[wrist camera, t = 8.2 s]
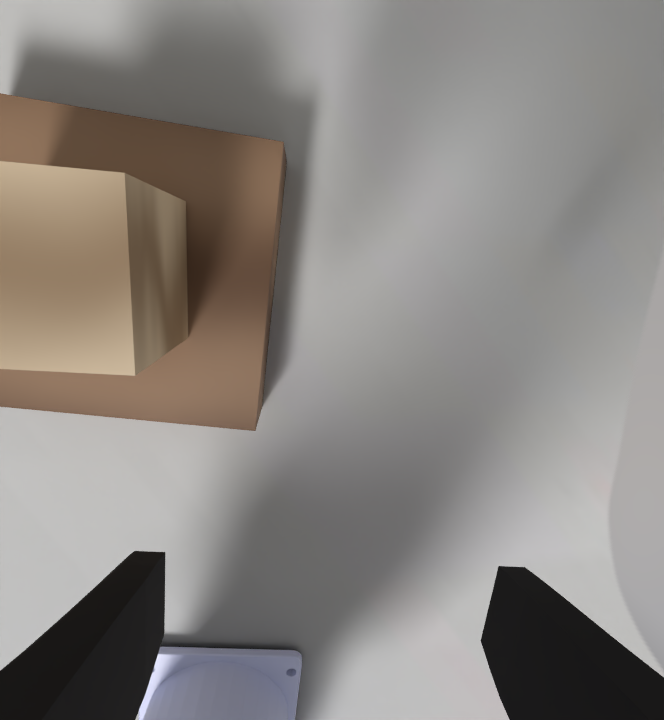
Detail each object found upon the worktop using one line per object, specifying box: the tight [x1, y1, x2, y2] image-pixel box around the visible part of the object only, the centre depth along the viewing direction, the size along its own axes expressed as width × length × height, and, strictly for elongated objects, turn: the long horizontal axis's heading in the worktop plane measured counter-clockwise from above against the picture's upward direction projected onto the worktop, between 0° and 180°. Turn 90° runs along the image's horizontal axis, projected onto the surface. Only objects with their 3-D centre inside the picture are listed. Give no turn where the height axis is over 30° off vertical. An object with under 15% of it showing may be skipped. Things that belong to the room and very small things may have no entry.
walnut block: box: [0, 94, 287, 431], centre depth 15 cm, size 10×10×3 cm
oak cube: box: [0, 161, 188, 376], centre depth 11 cm, size 4×4×4 cm
